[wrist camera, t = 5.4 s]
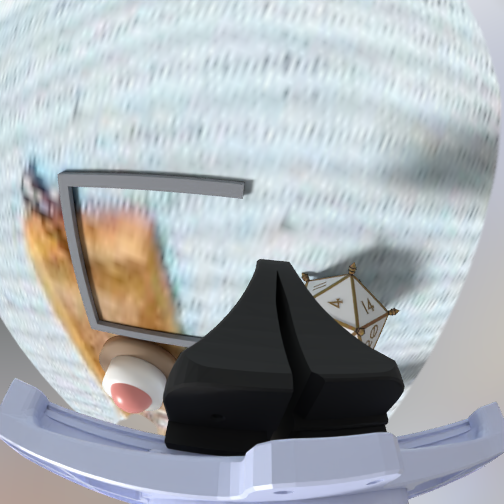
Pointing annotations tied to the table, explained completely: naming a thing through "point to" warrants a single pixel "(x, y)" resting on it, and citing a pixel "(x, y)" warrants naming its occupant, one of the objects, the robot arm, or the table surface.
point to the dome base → (136, 353)
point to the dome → (134, 384)
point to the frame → (140, 183)
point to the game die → (350, 305)
